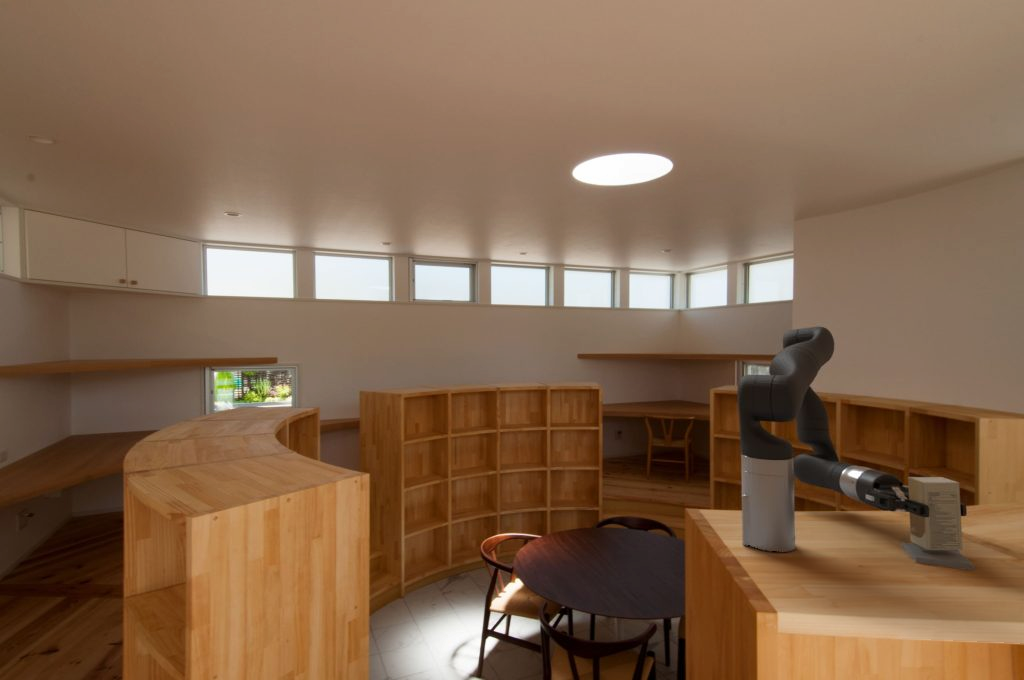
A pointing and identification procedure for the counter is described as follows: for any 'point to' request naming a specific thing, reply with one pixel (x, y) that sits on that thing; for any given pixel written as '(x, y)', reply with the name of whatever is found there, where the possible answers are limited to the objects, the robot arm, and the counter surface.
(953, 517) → the skincare box
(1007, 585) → the counter surface
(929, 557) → the grey square slab
